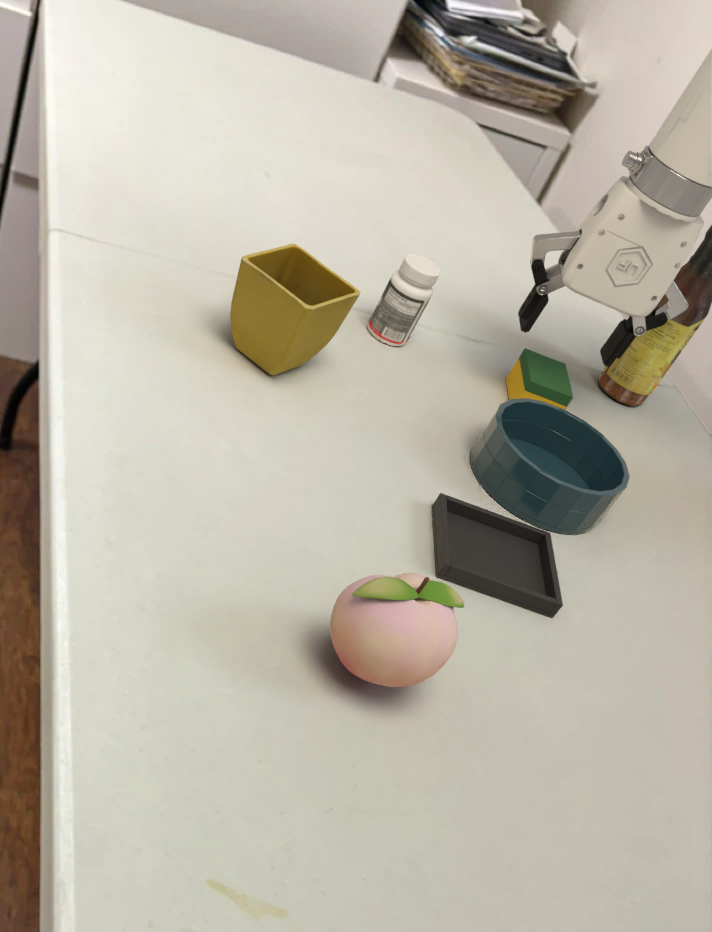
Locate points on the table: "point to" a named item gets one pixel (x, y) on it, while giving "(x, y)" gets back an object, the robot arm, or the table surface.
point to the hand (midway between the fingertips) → (563, 342)
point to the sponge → (539, 380)
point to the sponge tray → (495, 555)
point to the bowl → (548, 466)
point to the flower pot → (287, 307)
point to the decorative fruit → (395, 628)
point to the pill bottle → (403, 300)
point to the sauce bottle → (663, 334)
